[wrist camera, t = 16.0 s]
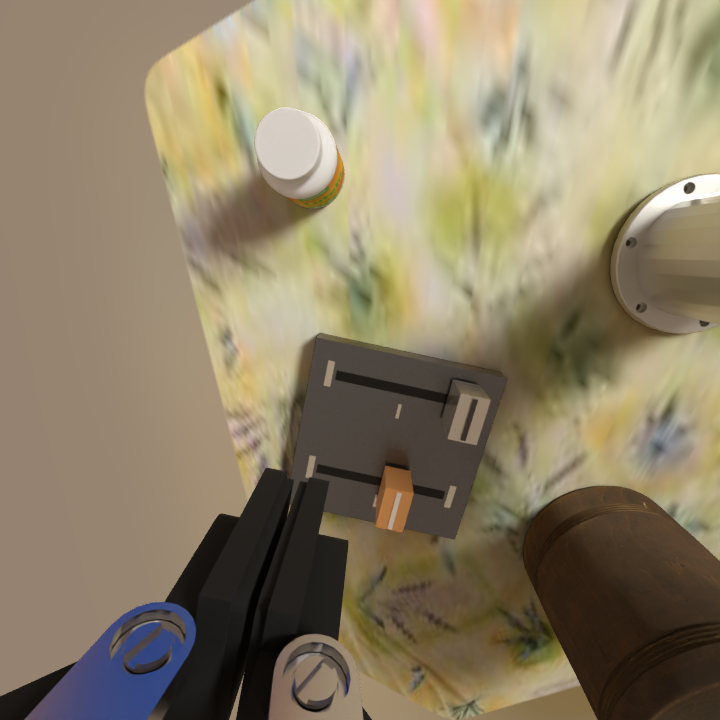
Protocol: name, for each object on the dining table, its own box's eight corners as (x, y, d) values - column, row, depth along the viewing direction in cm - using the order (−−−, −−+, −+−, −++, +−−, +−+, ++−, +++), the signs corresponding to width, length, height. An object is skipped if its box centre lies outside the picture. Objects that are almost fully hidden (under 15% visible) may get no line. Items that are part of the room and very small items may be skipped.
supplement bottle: (313, 223, 34) (289, 211, 25) (267, 175, 33) (223, 144, 24) (358, 174, 33) (350, 143, 24) (311, 123, 32) (283, 70, 23)
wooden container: (551, 623, 44) (712, 969, 23) (500, 517, 41) (630, 804, 20) (689, 577, 42) (1011, 915, 20) (645, 461, 38) (973, 717, 17)
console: (500, 372, 37) (507, 378, 35) (451, 525, 41) (454, 539, 39) (319, 332, 37) (316, 337, 35) (290, 491, 41) (285, 503, 39)
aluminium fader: (479, 385, 35) (491, 400, 31) (467, 426, 36) (476, 446, 32) (452, 379, 35) (461, 394, 31) (440, 420, 36) (447, 439, 32)
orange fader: (410, 471, 37) (413, 494, 34) (400, 507, 38) (402, 534, 35) (385, 465, 37) (385, 488, 34) (375, 502, 38) (375, 528, 35)
